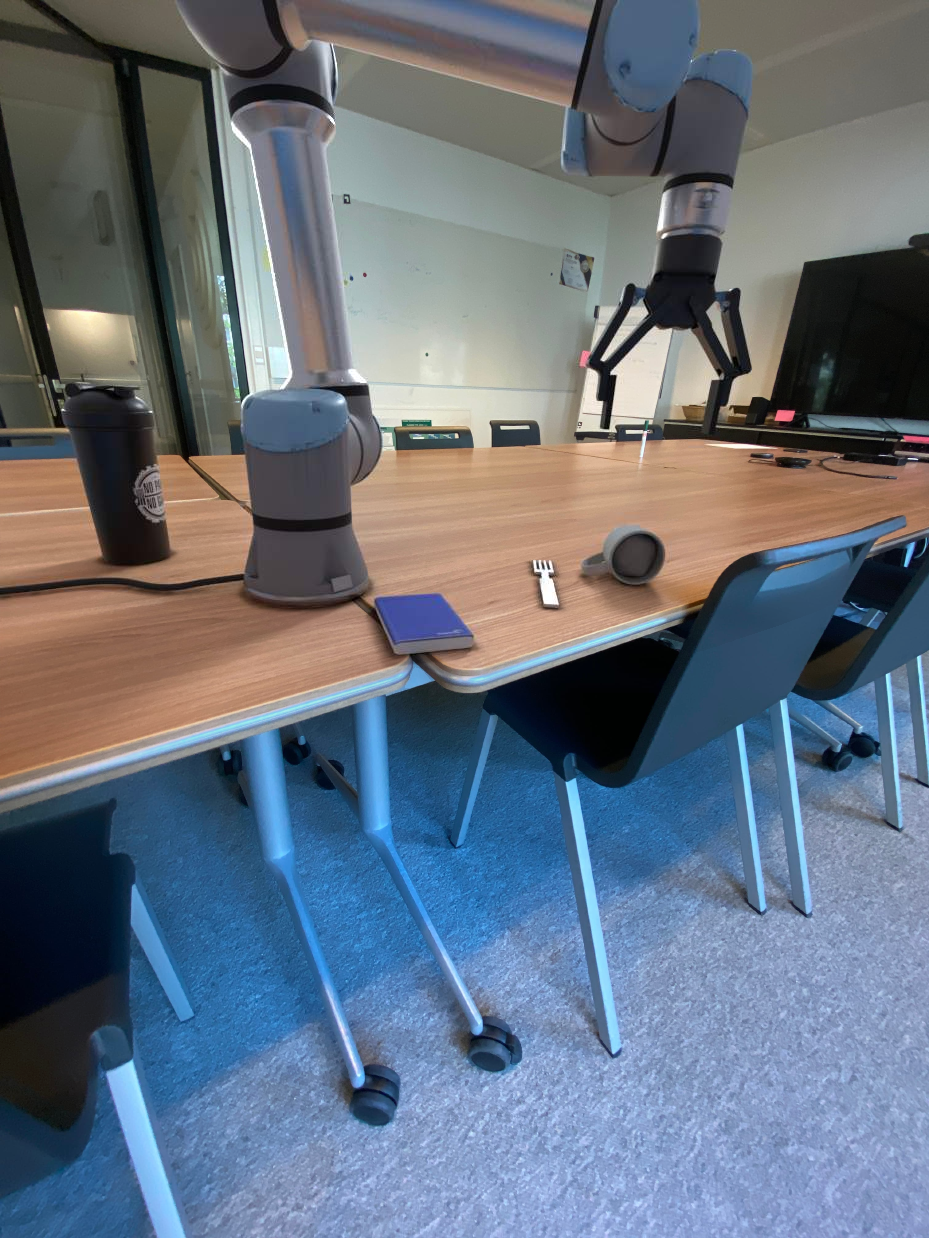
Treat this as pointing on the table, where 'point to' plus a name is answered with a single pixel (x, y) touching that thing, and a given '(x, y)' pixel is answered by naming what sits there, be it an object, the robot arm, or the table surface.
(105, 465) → the water bottle
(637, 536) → the ceramic mug
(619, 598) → the table surface
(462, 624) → the hard drive
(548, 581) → the fork
